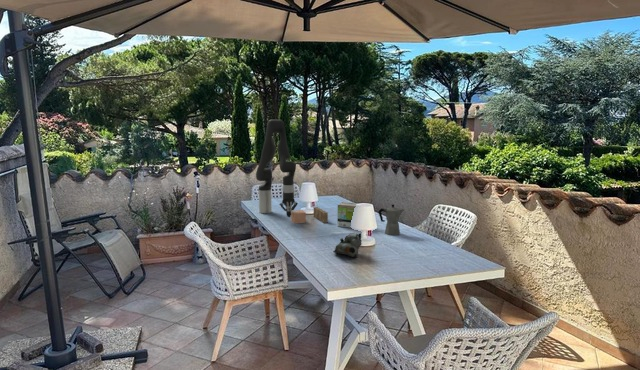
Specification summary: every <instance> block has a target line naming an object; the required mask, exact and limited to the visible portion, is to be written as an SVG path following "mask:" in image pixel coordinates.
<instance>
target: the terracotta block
mask: <svg viewBox="0 0 640 370" xmlns="http://www.w3.org/2000/svg"><path fill="white" fill-rule="evenodd" d="M290 220H291V222H292V223H294V224H301V223H302V224H303V223H307V213H306V211H305V210H292V211H291V216H290Z"/></svg>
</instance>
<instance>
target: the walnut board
mask: <svg viewBox="0 0 640 370" xmlns="http://www.w3.org/2000/svg"><path fill="white" fill-rule="evenodd" d="M328 215H329V213H328V212H327V211H326V210H324V209H323V208H320V207H318V206H314V207H313V218H314V219H316V220H318V221H320V222H321V223H322V224H326V223H328V222H329V221H328V219H329V218H328V217H329V216H328Z"/></svg>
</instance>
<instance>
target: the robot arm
mask: <svg viewBox="0 0 640 370" xmlns="http://www.w3.org/2000/svg"><path fill="white" fill-rule="evenodd" d="M273 134H279V135H280V137H279V138H280V139H279V142H278V144H277V148H276V144H275V142H274V140H273ZM276 151H277V152H278V156H279V169H280V171H281V172H282V173H288V174H287V175H284V176H283V177H282V200H281V202H280V203H279V206H280V207H281V209H282V210H283V211H285V212H286V217H288V218H291V211H295V209H296V207H297V206H298V202H297V201H296V199H295V187H294V178H295V174H296V170H297V165H296V162H295V161H288V160H289V159H290V158H291V154H290V150H289V147H288V142H287V132H286V127H285V123H284V120H282V119H269V120H268V121H267V125H266V131H265V137H264V143H263V147H262V150H261V156H260V160H259V163H258V165H257V169H256V172H255V177H256V180H257V181H258V182H263V183H262V184H260V185H259V186H258V208H259V209H258V212H259V213H260V214H271V213H272V212H273V211H272V208H273V207H272V185H273V184H272V181H273V180H272V176H273V175H272V174H273V173H272V169H271V168H269V167H266V166H267V165H268V164H270V163H271V161H272V160H273V159H274V158H275V155H276ZM284 206H285V207H284Z"/></svg>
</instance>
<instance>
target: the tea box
mask: <svg viewBox="0 0 640 370" xmlns="http://www.w3.org/2000/svg"><path fill="white" fill-rule="evenodd" d="M356 204H359V203H358V202H357V203H356V202H344V201H343V202H341V203H339V204H337V217H336V218H337V219H336V220H337V227H343V228H350V229H352V228H351V227H350V226H351V220H352V216H353V212H354V208H355V207H356Z"/></svg>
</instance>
